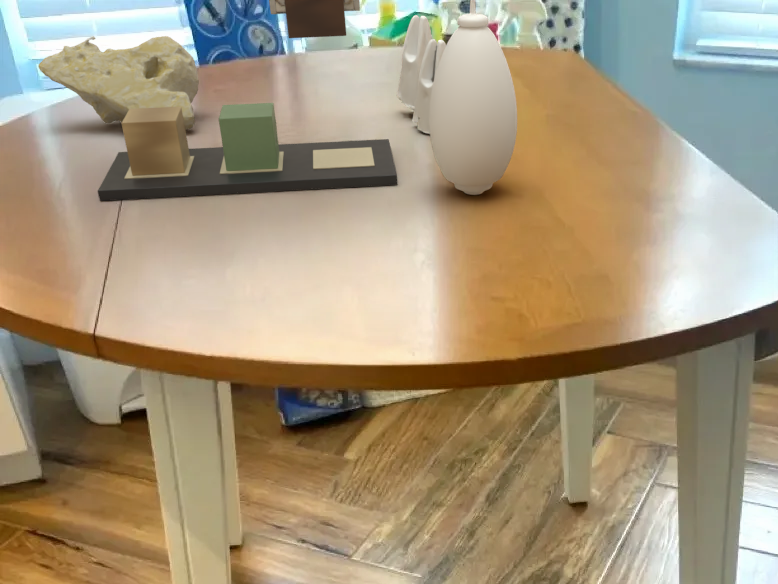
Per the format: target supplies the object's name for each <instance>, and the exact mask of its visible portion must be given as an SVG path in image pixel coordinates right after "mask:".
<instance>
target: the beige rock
mask: <svg viewBox="0 0 778 584" xmlns="http://www.w3.org/2000/svg"><path fill="white" fill-rule="evenodd" d="M90 40H92V41H94V40H96V37H95V36H93V35H92V36H90V37H88V38H86V39H85V40H84V41H83V42H80V43H78V44H76V45H74V46H68V45H64V46H63V48H62V50H61V51H59V52H58V53H55V54H52V55H48V56H46V57H45V58H43V59H42V60H41V61H40V63H38V69H39V71H40V72H41V73H42V74H43V75H44V76H45V77H47V78H49V80H51V81H52V82H54V83H57V84H60V85H62V86H64V87H65V88H67V89H69V90H70V91H72V92H74V93H75V94H76V95H78V96H79V97H80V98H81V100H82V101H83V102H84V103H87V104H88V105H89V106H91V107H92V109H93V110H94V112H95V113H96V114H97V115H98V116H99V117H100V120H102V122H103V123H105V124H112V123H113V122H120V123H122V121H123V119H124V118H125V116H126V114H127V113H128V111H129V109H138V108H160V107H182V113H183V119H184V125H185V131H188V130H189V129H192V128H193V127H194V126H195V115H194V107H193V105H192V103H193V102H194V99H195V97H196V95H197V94H198V91H199V84H200V80H199V76H198V69H197V66H196V61H195V59H194V57H193V56H192V55H191V54H190V53H189V52H188V51H187V49H186V48H185V47H184V46H182V44H180V43H179V42H177V41H176V40H175V39H173V38H172V37H171V36H167V35H165V36H162V35H161V36H156V37H152V38H150V39H148V40H146V41H144V42H142V43H141V44H139V45H137V46H134V47H131V48H122V49H119V48H118V49H113V48H107V49H105V51H101V49H100V47H99V46H97V45H96V44H94V43H92V42H90Z"/></svg>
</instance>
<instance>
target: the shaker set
mask: <svg viewBox="0 0 778 584" xmlns="http://www.w3.org/2000/svg"><path fill="white" fill-rule="evenodd" d="M406 30H407V31H406V34H405V36H404V37H405V38H404V43H403V47H402V53H401V69H400V75H399V81H398V86H397V92H396V93H397V94H396V98H398V100H399V101H400V102H401V103H402V104H403V105H404V106H405V107H407V108H409V109H410V110H412V111H413V114H412V120H411V121H412V123H417V130H419V131H421V132H423V133H425V134H429V135H430V124H429V114H430V101H431V93H432V88H433V83H434V79H435V75H436V72H437V68H438V65H439V62H440V59H441V57H442V54H443V52H444V49H445V47H446V45H447V43H446V42H445V41H444V40H443V39H439V40H436V39H434V38H433V35H432V31H431V25H430V22H429V19H428V17H426V16H425V15H421V16H420V17H419V15H417V14H415V15H413V16H412V17H411V19H410V21H409V24H408V27H407V29H406Z"/></svg>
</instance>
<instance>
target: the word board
mask: <svg viewBox="0 0 778 584" xmlns="http://www.w3.org/2000/svg"><path fill="white" fill-rule="evenodd" d="M278 144H279V164H278V168H274V169H255V170H235V171H227V170H226V164H225V158H224V151H223V146H219V147H215V146H214V147H197V148H189V154H190V158H189V161H188V164H187V167H186V170H185V173H170V174H150V175H132V172H131V167H130V162H129V157H128V152H127V151H118V152H117V154H116V156H115V158H114V159H113V161H112V163H111V164H110V167H109V169H108V170H107V173H106V174H105V176H104V179H103V180H102V182H101V184H100V186H99V187H98V189H97V195H98V199H99V201H100V202H104V201H106V202H107V201H123V200H141V199H157V198H158V199H159V198H160V199H161V198H163V199H164V198H179V197H181V198H183V197H198V196H201V197H202V196H215V195H217V196H218V195H219V196H220V195H236V194H255V193H256V194H257V193H272V192H274V193H275V192H291V191H292V192H293V191H308V190H309V191H313V190H327V189H328V190H329V189H345V188H346V189H349V188H364V187H365V188H366V187H367V188H368V187H383V186H384V187H385V186H397V185H398V173H397V169H396V165H395V161H394V156H393V152H392V147H391V142H390V139H389V138H384V139H383V138H382V139H381V138H380V139H362V140H361V139H360V140H359V139H358V140H341V141H340V140H339V141H338V140H337V141H319V142H301V143H299V142H298V143H281V144H280V143H278Z"/></svg>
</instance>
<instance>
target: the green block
mask: <svg viewBox="0 0 778 584" xmlns="http://www.w3.org/2000/svg"><path fill="white" fill-rule="evenodd" d="M218 125H219V130H220V138H221V144H222V147H223V151H224V158H225V164H226V170H227V171H235V170H255V169H274V168H278V164H279V144H280V143H279V137H278V136H279V135H278V129H277V127H278V126H277V120H276V111H275V103H274V102H260V103H259V102H257V103H235V104H234V103H233V104H222V106H221V109H220V113H219V117H218Z"/></svg>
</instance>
